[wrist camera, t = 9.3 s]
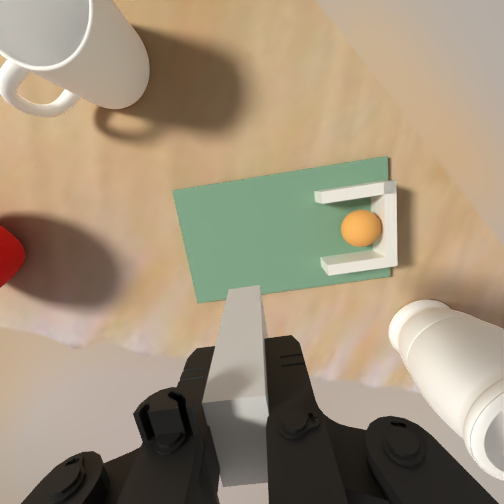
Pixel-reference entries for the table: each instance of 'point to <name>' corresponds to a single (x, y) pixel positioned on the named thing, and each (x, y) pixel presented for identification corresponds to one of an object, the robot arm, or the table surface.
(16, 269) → the tomato
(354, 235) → the ball
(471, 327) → the jar
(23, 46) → the cup
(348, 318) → the table surface
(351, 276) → the putting mat
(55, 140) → the table surface
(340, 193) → the white c-shaped bracket
